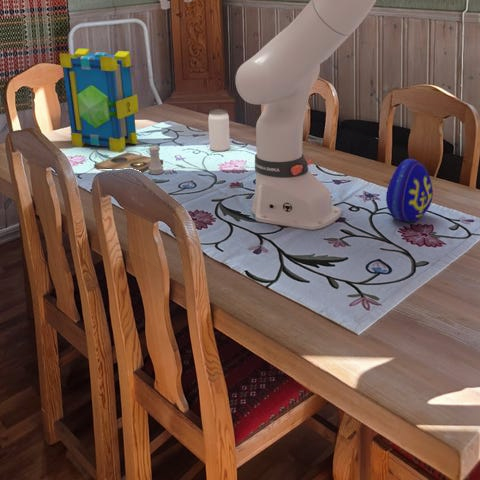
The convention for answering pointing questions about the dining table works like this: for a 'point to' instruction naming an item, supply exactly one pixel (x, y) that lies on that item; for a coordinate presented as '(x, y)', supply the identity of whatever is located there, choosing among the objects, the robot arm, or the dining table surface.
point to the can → (219, 130)
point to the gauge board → (126, 162)
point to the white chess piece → (155, 161)
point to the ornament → (409, 191)
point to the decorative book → (100, 98)
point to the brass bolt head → (138, 163)
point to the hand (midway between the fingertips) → (177, 5)
